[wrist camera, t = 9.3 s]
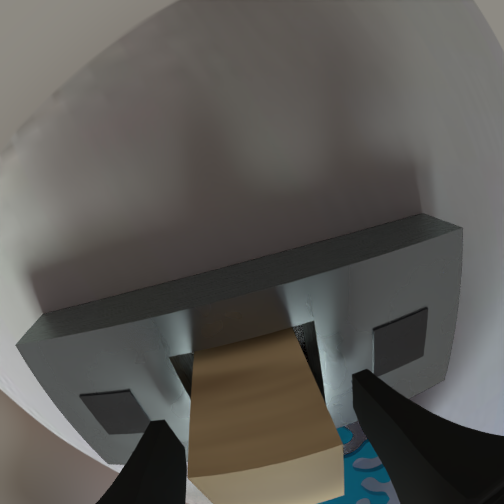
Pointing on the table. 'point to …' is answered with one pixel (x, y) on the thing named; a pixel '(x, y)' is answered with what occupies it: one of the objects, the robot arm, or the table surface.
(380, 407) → the robot arm
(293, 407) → the peg
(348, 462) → the gear
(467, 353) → the table surface
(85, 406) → the grey holed base
